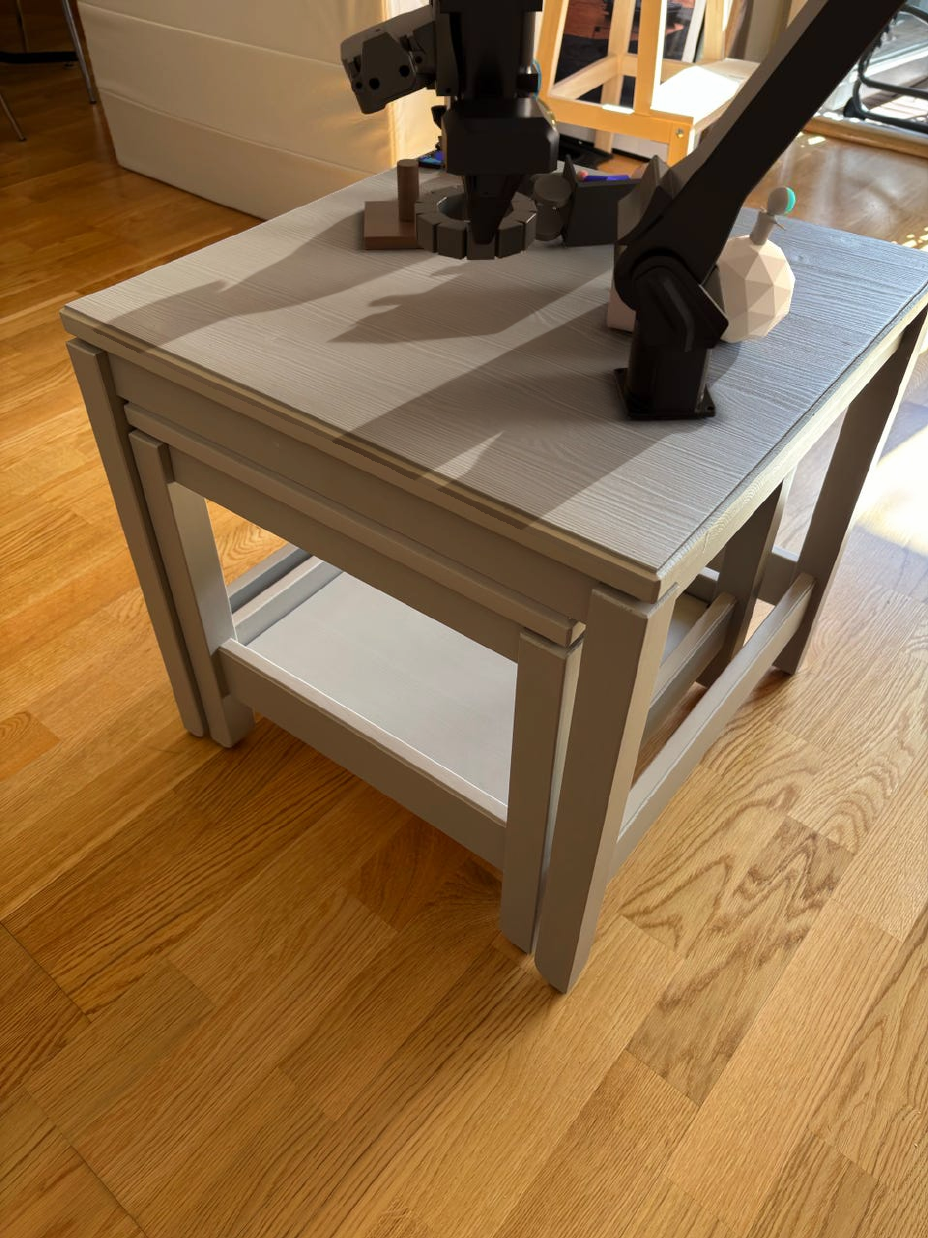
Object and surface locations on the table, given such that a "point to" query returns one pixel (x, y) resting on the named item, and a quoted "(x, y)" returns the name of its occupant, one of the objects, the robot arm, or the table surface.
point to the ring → (453, 237)
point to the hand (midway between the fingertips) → (480, 237)
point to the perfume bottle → (757, 275)
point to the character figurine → (580, 205)
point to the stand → (394, 213)
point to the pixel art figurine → (433, 159)
